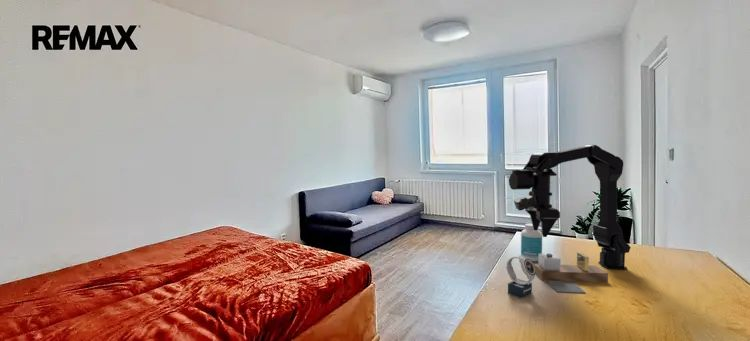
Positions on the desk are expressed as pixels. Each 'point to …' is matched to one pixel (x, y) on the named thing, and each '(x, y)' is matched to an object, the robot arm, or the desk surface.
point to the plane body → (572, 274)
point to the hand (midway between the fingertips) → (539, 233)
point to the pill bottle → (531, 243)
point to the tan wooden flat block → (582, 261)
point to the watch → (518, 285)
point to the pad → (565, 287)
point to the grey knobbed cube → (549, 262)
